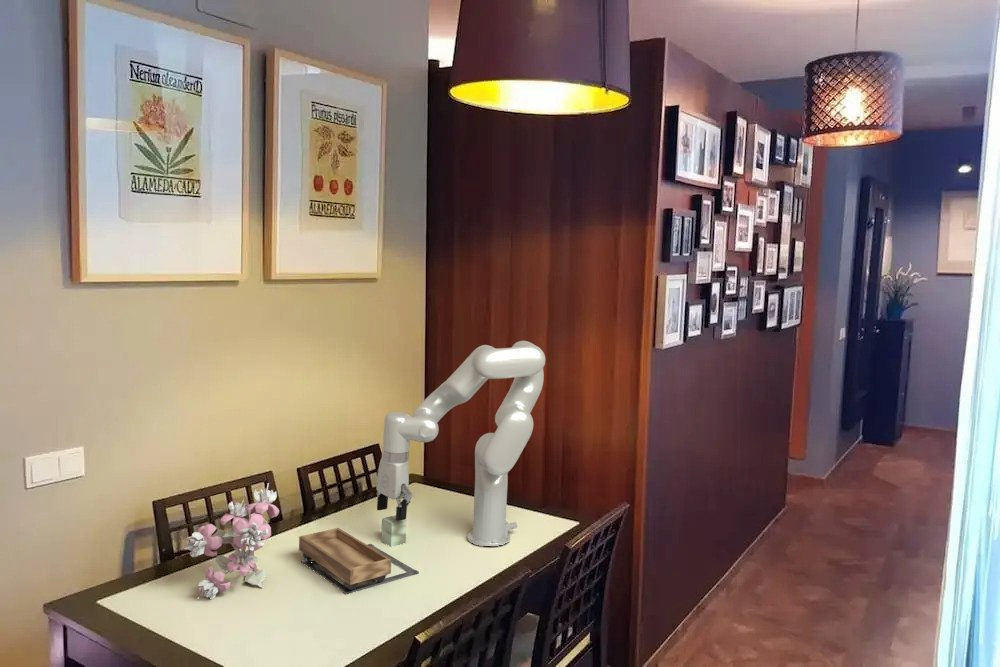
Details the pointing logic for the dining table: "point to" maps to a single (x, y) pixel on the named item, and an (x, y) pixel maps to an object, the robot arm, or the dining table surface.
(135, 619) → the dining table surface
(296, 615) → the dining table surface
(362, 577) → the cart
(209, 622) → the dining table surface
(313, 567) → the grey flat square frame
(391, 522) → the sage block
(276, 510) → the flower
